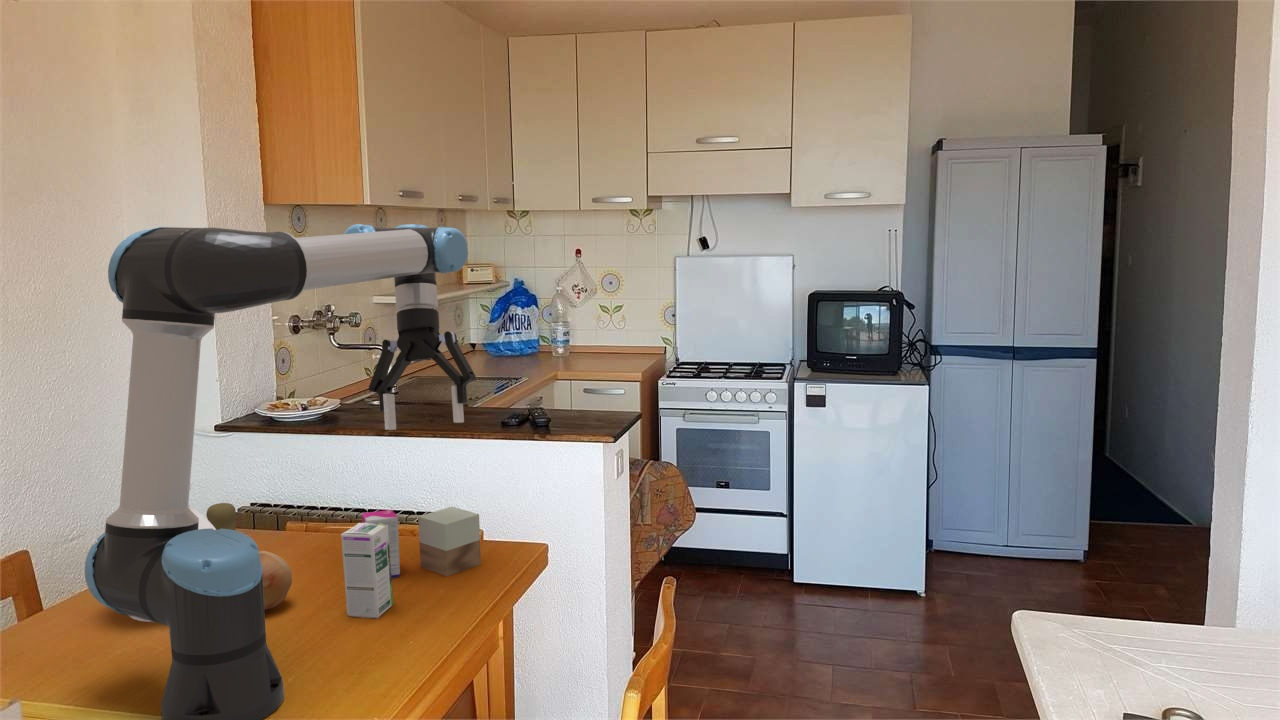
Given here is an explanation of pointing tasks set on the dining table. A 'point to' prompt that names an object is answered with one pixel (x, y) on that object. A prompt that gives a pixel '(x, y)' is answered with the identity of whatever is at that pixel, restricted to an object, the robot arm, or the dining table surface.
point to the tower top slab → (449, 528)
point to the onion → (274, 579)
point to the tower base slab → (450, 558)
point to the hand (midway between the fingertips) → (424, 426)
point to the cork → (222, 516)
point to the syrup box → (367, 570)
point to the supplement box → (392, 522)
